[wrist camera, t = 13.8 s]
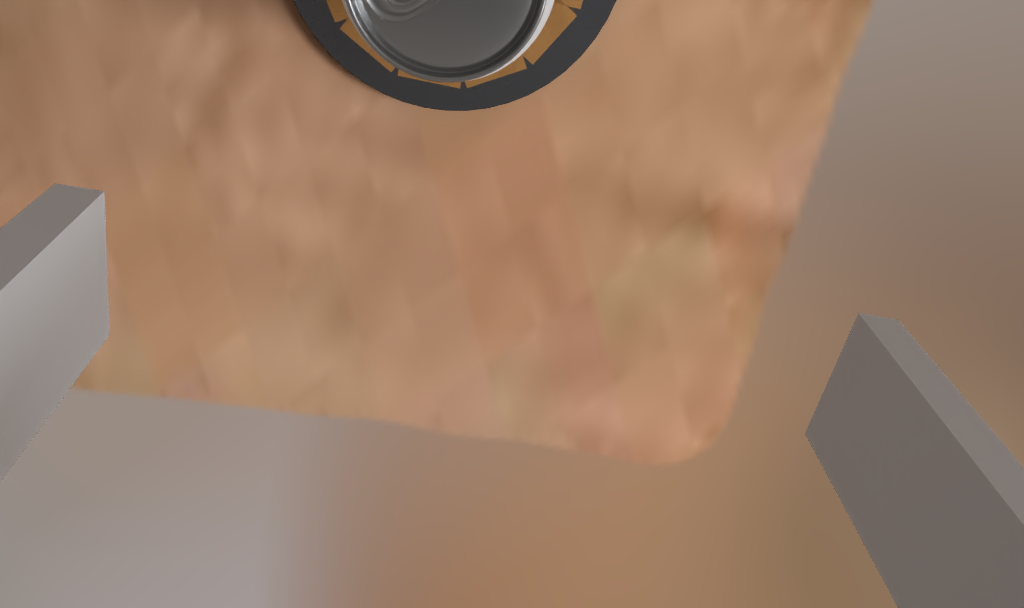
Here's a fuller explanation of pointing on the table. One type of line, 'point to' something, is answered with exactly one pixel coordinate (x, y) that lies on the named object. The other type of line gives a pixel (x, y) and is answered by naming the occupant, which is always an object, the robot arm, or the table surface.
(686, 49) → the table surface
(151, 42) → the table surface
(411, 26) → the can
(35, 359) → the robot arm
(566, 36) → the grey and gold ring
